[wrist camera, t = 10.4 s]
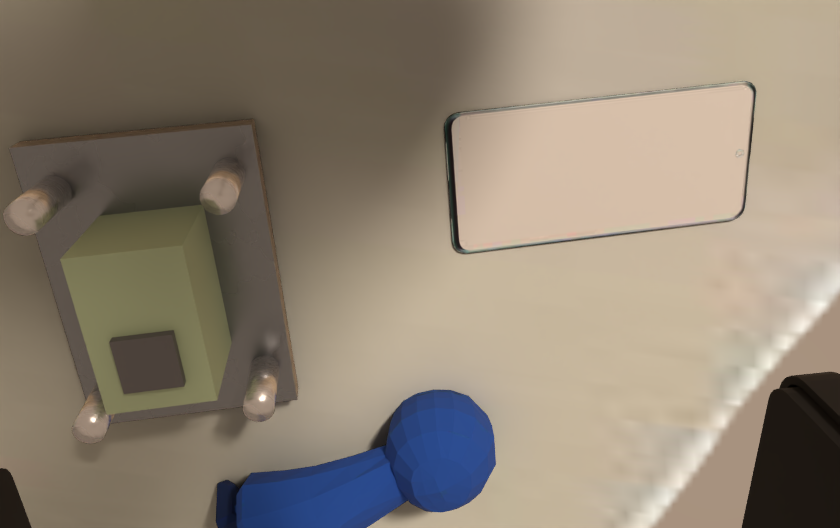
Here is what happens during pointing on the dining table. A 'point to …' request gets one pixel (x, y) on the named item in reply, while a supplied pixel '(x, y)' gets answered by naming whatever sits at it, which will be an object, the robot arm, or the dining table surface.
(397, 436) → the toy
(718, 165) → the smartphone
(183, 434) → the dining table surface
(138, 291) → the block
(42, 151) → the chassis
